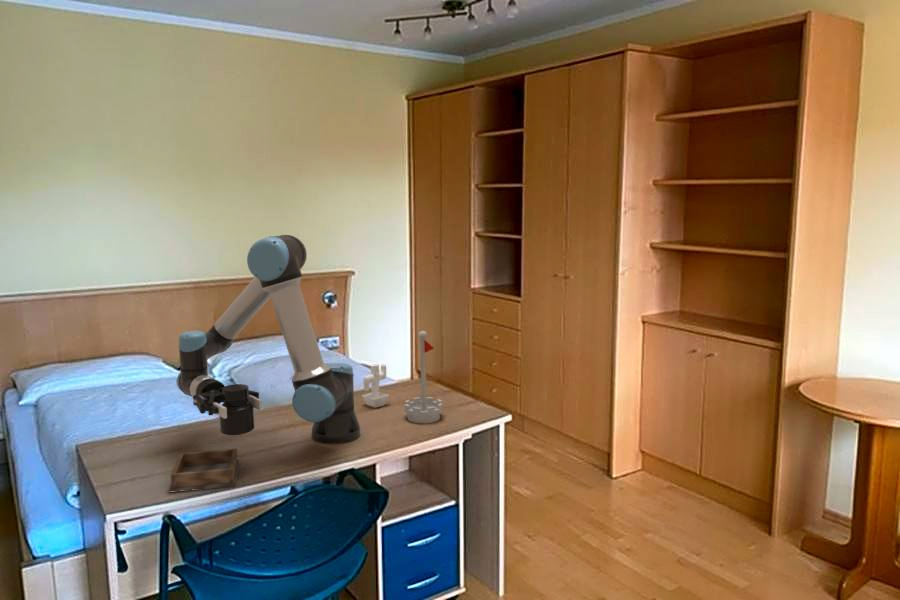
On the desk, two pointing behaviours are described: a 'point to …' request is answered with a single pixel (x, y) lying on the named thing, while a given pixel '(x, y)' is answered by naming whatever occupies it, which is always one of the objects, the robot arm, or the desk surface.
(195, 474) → the tray
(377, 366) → the figurine
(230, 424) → the ink bottle
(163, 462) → the desk surface
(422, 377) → the flag stand
